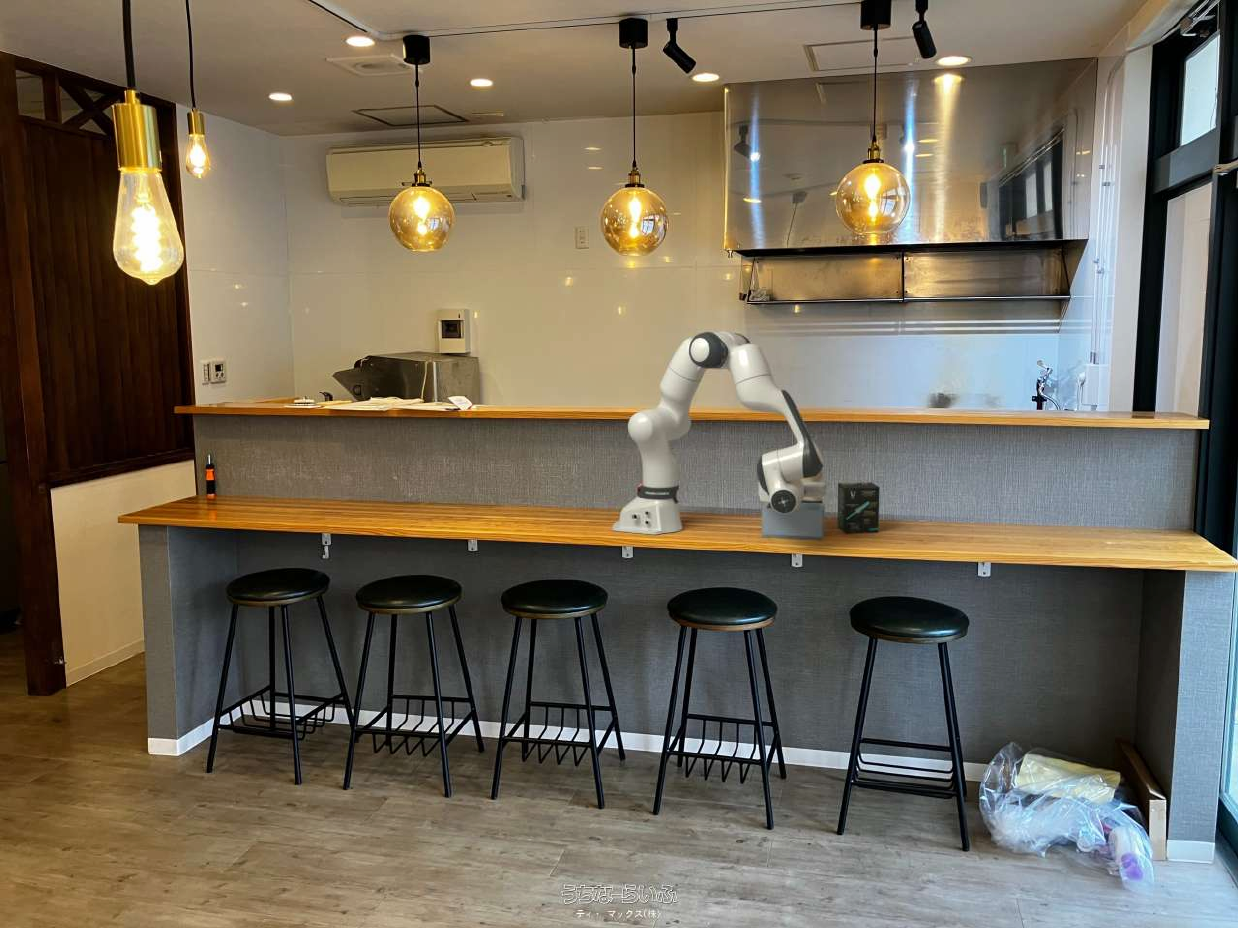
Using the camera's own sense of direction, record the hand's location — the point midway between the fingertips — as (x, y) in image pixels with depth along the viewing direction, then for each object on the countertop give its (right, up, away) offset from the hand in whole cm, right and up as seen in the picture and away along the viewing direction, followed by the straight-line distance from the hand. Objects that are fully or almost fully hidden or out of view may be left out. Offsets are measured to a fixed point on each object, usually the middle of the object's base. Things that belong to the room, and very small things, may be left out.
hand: (793, 484), depth 293 cm
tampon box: (+21, -15, +8) cm, 27 cm away
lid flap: (+2, -6, +7) cm, 9 cm away
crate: (0, -16, +2) cm, 16 cm away
